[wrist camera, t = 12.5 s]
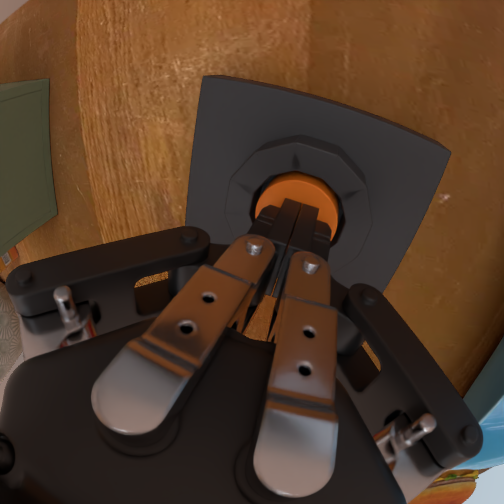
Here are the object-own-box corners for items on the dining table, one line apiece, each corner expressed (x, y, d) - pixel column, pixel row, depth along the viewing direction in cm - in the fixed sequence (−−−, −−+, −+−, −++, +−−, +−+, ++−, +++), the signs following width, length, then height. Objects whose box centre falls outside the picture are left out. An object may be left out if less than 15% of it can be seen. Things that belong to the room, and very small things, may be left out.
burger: (492, 437, 25) (494, 496, 17) (458, 466, 32) (456, 514, 24) (412, 447, 30) (407, 511, 22) (390, 472, 36) (383, 522, 28)
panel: (198, 228, 20) (168, 262, 17) (220, 74, 14) (184, 76, 11) (372, 286, 18) (373, 331, 15) (438, 141, 12) (465, 163, 9)
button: (258, 224, 15) (248, 241, 14) (273, 158, 13) (264, 169, 12) (325, 245, 15) (322, 265, 14) (348, 182, 13) (349, 196, 11)
